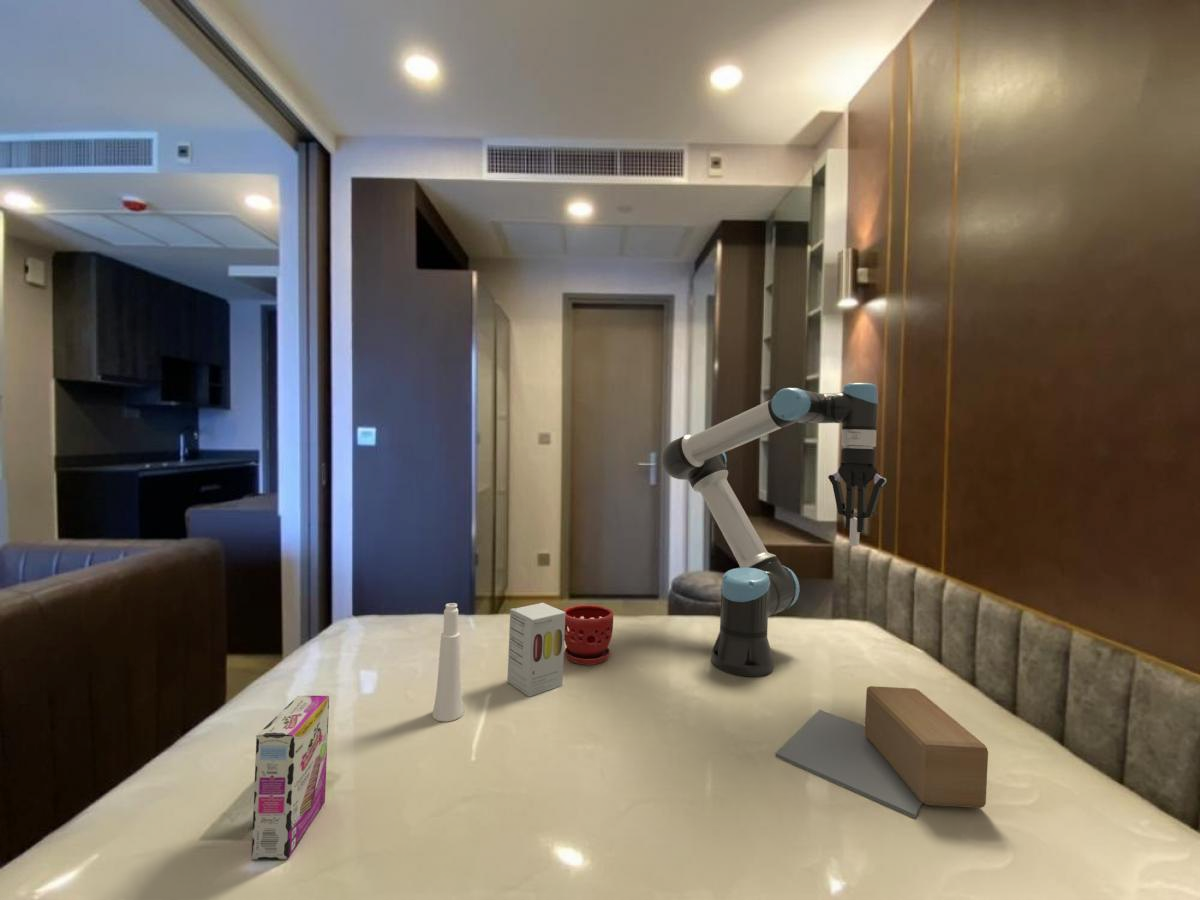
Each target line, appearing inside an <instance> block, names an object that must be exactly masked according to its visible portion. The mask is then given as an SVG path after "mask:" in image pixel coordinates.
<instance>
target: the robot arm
mask: <svg viewBox="0 0 1200 900" xmlns="http://www.w3.org/2000/svg"><path fill="white" fill-rule="evenodd" d="M878 390H879V389H878V386H877V385H875V384H874V383H869V382H868V383H867V382H852V383H847V384H845V385H844V386H843V390H842V391H841V392H837V393H835V392H834V393H832V392H831V393H828V392H827V393H818V392H814V391H809V390H804V389H802V388H798V387H786V388H785V387H784V388H782V389H780V390H778V391H777V392H776V393H775V394H774V395H773V397H772V398H771V399H770V400H767V401H765V402H763V403H761V404H757V405H756V406H755V407H752V408H750V409H748V410H745V411H743V412H741V413H739V414H738V415H737V414H736V415H734V416H732V417H731V418H729V419H726V420H723V421H722V422H719V423H717V424H715V425H714V426H713V425H712V426H711V427H709V428H707V429H705V430H702V431H700V432H698V433H696V434H694V435H693V434H685V435H683V436H681V437H679V438H676V439H675V440H672V441H670V442H669V443H668V444H667V445H666V446H665V447H664V448H663V451H662V453H661V465H662V467H663V469H664V472H666V474H668V475H669V476H670V477H672V478H673V479H677V480H687V481H688V483H689V484H690V486H691V488H692V490H693V491H694V492H697V493H700V494H701V496H702V498H703V500H704V501H705V503H706V505H707V507H708V509H709V511H710V512H711V515H712V517H713V518H714V521H715V522H716V524H717V526H718V528H719V530H720V531H721V533H722V536H723V537H724V540H725V542H726V543H727V544H728V546H729V549H730V550H731V552H732V553H733V556H734V557H735V559H736V561H737V563H738V565H739V567H735V568H732V569H729V570H727V571H726V572H724V574H723V575H722V578H721V585H720V613H719V615H720V616H719V618H720V619H719V621H720V623H719V632H718V634H717V637H716V639H715V642H714V645H713V648H712V652H711V662H712V664H713V666H715V667H716V668H718V669H719V670H722V671H723V672H727V673H729V674H731V675H737V676H743V677H763V676H766V674H767V675H769V674H770V672H771V673H772V672H773V671H772V670H774V656H773V653H772V649H771V645H770V642H769V639H768V625H769V623H768V622H769V617H771V616H774V615H775V614H777V613H781V612H784V611H786V610H788V609H790V607H792V606H793V605H794V604H795V603H796V602H797V601H798V598H799V594H800V583H799V580H798V577H797V575H796V574H795V573H794V571H793V570H792V569H790V568H789V567H786V566H785V565H782V563H781V561H780V560H779V558H778V556H777V555H776V554H774V553H770V552H768V550H767V548H766V547H765V545H764V543H763V541H762V539H761V537H760V536H759V534H758V532H757V531H756V529H755V527H754V525H753V524H752V522H751V521H750V518H749V516H748V515H747V513H746V511H745V510H744V508H743V506H742V504H741V502H740V501H739V499H738V497H737V495H736V494H735V492H734V490H733V487H731V485H730V483H729V482H728V475H729V471H728V469H727V462H728V461H727V455H726V452H728V451H731V450H733V449H735V448H737V447H740V446H743V445H745V444H747V443H750V442H752V441H755V440H757V439H759V438H761V437H763V436H766V435H769V434H770V433H773V432H776V431H778V430H780V429H782V428H786V427H788V426H791V425H793V424H795V423H800V424H809V425H812V424H841V446H842V448H841V449H840V466H839V468H838V470H837V472H835V473H833V474H829V475H828V476H827V477H828V479H829V481H830V483H831V485H832V489H833V496H834V500H835V503H836V504H835V505H836V509H837V514H839V515H842V516H844V517H845V530H846V531H849V542H848V543H849V544H848V545H849V546H851V547H852V546H853V547H857V546H859V545H860V533H863V532H864V531H865V520H866V519H867V518H871V517H873V516H874V514H875V511H876V508H877V506H878V505H877V504H878V502H879V499H880V496H881V493H882V489H883V487H884V486H885V485H886V484H887V483H888V479H887V478H886V477H882V476H881V475H879V474H878V470H877V469H876V454H877V453H876V452H877V451H876V450H875V449H874V448H875V447H877V426H878V425H877V423H878V422H877V421H878V410H879V409H878V408H879V407H878V405H879V400H878V399H879V395H878ZM841 479H842V480H843V481H844V483H845V484H846V485H845V489H846V496H845V497H846V500H844V499H845V498H844V494H843V490H842V489H843V488H842V485H841ZM872 481H873V484H874V486H873V487H872V492H871V494H870V497H869V501H868V505H867V504H866V503H867V491H868V485H869V484H870V483H871V482H872ZM856 488H857V505H856V507H857V508H856V510H857V511H856V516H855V497H856ZM866 506H867V507H866Z"/></svg>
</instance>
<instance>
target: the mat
mask: <svg viewBox="0 0 1200 900" xmlns="http://www.w3.org/2000/svg"><path fill="white" fill-rule="evenodd" d="M774 754H775V755H774V756H775V757H776V758H778V759H780V760H782V761H785V762H787V763H789V764H791V765H794V766H796V767H799V769H802V770H805V771H806V772H809V773H811V774H814V775H816V776H819V777H821V778H823V779H825V780H828V781H830V782H832V783H835V784H837V785H839V786H841V787H843V788H845V789H847V790H850V791H852V792H854V793H857V794H859V795H862V796H863V797H866V798H869V799H870V800H873V801H874V802H876V803H879V804H882V805H884V806H886V807H888V808H891V809H893V810H895V811H898V812H899V813H902V814H904V815H906V816H908V817H910V818H914V819H917V816H918V814H919V812H920V810H921V808H922V805H923V803H922V802H921V801H920V800H919V799H918V798H917V796H916V795H915V794H914V793H913V792H912V791H911V789H910V788H909V787H908V786H907V785H906V783H905V782H904V781H903V780H902V779H901V777H900V776H899V775H898V774H897V773H896V771H895V770H894V769H893V768H892V767H891V766H890V764H889V763H888V762H887V761H886V760H885V758H884V757H883V756H882V755H881V754H880V752H879V751H878V750H877V749H876V748H875V746H874V745H873V744H872V743H871V742H870V741H869V739H868V738H867V737H866V734H865V724H861V723H858V722H855V721H852V720H850V719H847V718H844V717H842V716H839V715H837V714H834V713H831V712H827V711H825V710H822V709H818V711H817V712H815V713H814V715H812V716H811V717H810V718H809V719H808V720H807V721H806V722H805V723H804V724H803V726H800V728H799V729H798V730H797V731H796V732H795V733H794V734H793V735H792V736H791V737H790V738H789V739H788V740H787V741H786V742H785V743H784V744H783V745H782V746H781V747H780V748H779V749H778V750H777V751H776V752H775V753H774Z"/></svg>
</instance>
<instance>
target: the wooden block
mask: <svg viewBox="0 0 1200 900" xmlns="http://www.w3.org/2000/svg"><path fill="white" fill-rule="evenodd" d="M864 720H865V722H864V726H865V734H866V737H867V738H868V739H869V741H870V742H871V743H872V744H873V745H874V746H875V748H876V749H877V750H878V751H879V752H880V754H881V755H882V756H883V757H884V758H885V760H886V761H887V762H888V763H889V764H890V766H891V767H892V768H893V769H894V770H895V771H896V773H897V774H898V775H899V776H900V777H901V779H902V780H903V781H904V782H905V783H906V785H907V786H908V787H909V788H910V789H911V791H912V792H913V793H914V794H915V795H916V796H917V798H918V799H919V800H920V801H921V802H922V804H925V805H926V806H927V805H928V806H940V807H941V806H943V807H944V806H945V807H957V808H958V807H960V808H961V807H962V808H976V809H979V808H980V809H981V808H984V807H985V806H986V804H987V784H988V783H987V782H988V765H989V764H988V763H989V762H988V761H989V750H988V747H987V746H986V745H985V744H984V743H983V742H982V741H980V739H978V738H977V737H976V735H974V734H972V733H971V732H970V731H969V730H968V729H966V728H965V727H964V726H963V725H961V724H960V723H959V722H958V721H957V720H955V719H954V717H952V716H951V715H949V714H948V713H947V712H946V711H944V710H943V709H942V708H941V707H940V706H938V705H937V704H936V703H935V702H933V700H931V699H930V698H929V697H928V696H927V695H925V694H924V693H923V692H922V691H921V690H919V689H916V688H914V687H913V688H911V687H909V688H908V687H893V686H892V687H891V686H889V687H888V686H875V685H874V686H868V687H866V697H865V718H864Z"/></svg>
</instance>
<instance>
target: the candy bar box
mask: <svg viewBox="0 0 1200 900" xmlns="http://www.w3.org/2000/svg"><path fill="white" fill-rule="evenodd" d="M329 709H330V696H329V695H296V697H295V698H294V699H292V701H291V702H290V703H288V705H287V706H285V708H283V710H281V711H280V712H279V713H278V714H277V715H276V716H275V717H274V718H273V719H272V720H271V721H270V722H269V723H268V724H267V725H266V726H264V727H263V729H262V730H260V731H259V732H258V733H257V735H256V736H255V737H256V739H255V740H256V742H255V761H254V762H255V766H254V767H255V769H254V785H253V786H254V787H253V790H254V791H253V792H254V794H253V795H254V796H253V814H252V816H253V817H252V819H253V820H252V834H251V835H252V836H251V837H252V839H251V856H250V857H251V858H250V860H252V861H286V860H287V861H289V859H290V858H291V856H292V854H293V853H294V851H295V850H296V849H297V846H298V845H299V844H300V842H301V840H302V839H303V837H304V835H305V834H306V832H307V831H308V829H309V827H310V826H311V825H312V823H313V822H314V820H315V818H317V815H318V814H319V811H321V809H322V807H323V806H324V804H325V803H326V783H327V782H326V781H327V761H328V760H327V757H328V740H329V739H328V735H329V713H330V712H329Z"/></svg>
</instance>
